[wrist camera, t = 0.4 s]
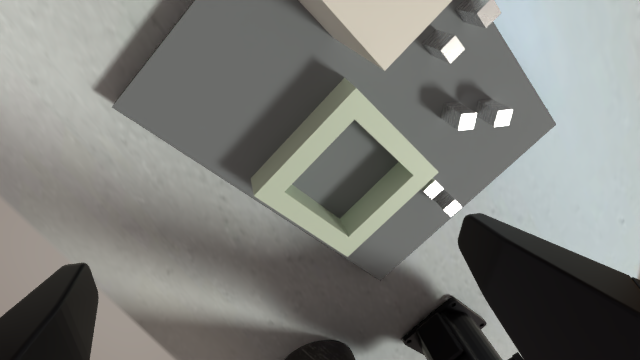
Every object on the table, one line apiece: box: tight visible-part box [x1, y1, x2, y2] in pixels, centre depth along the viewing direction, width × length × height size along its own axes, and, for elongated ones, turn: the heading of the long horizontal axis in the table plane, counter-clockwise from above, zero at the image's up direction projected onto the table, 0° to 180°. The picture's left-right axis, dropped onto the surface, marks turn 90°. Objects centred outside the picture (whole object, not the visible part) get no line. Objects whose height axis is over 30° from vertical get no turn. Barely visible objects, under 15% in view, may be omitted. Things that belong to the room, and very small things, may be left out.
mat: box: [113, 0, 556, 281], centre depth 23 cm, size 22×17×1 cm
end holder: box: [251, 78, 439, 257], centre depth 23 cm, size 8×8×2 cm
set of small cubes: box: [421, 0, 513, 217], centre depth 23 cm, size 10×9×2 cm
